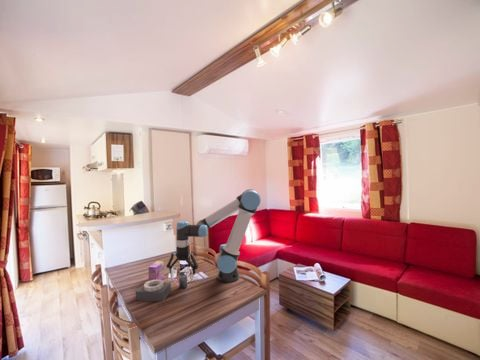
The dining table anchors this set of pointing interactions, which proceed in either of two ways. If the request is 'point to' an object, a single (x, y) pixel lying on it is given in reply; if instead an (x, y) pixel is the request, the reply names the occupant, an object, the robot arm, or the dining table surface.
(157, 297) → the camera body
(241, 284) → the dining table surface
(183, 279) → the lens
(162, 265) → the box
